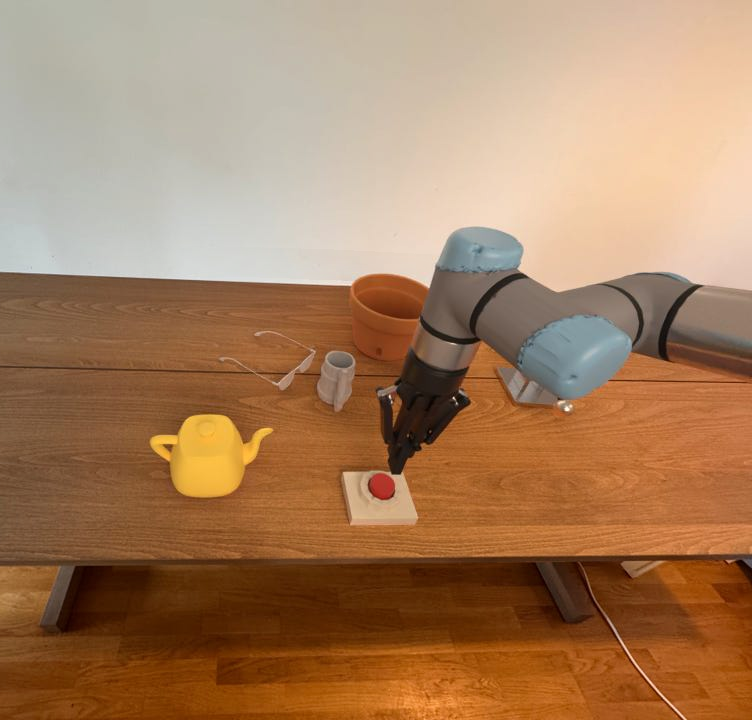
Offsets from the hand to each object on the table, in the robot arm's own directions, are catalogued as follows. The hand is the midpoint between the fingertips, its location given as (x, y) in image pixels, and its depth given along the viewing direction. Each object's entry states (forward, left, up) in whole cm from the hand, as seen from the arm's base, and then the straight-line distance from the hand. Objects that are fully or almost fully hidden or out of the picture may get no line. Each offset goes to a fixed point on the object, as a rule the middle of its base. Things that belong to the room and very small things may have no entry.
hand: (394, 467), depth 68 cm
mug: (+18, -17, -9) cm, 26 cm away
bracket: (-17, -47, -9) cm, 51 cm away
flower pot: (+17, -43, -9) cm, 47 cm away
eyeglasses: (+37, -19, -9) cm, 42 cm away
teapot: (+27, +13, -9) cm, 31 cm away
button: (+1, +1, -5) cm, 6 cm away
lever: (-20, -42, -1) cm, 47 cm away
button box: (+1, +1, -9) cm, 9 cm away
